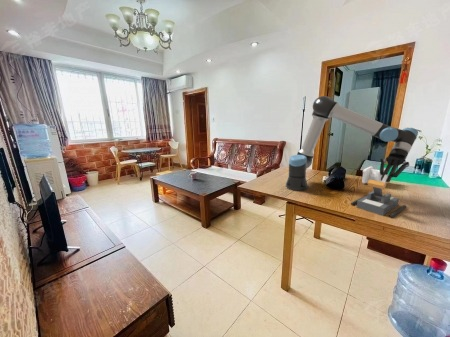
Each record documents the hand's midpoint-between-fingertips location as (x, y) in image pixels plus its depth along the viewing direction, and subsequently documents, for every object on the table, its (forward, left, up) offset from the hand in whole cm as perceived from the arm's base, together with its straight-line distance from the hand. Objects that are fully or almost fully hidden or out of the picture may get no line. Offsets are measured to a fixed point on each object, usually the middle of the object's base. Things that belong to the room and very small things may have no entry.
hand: (382, 185), depth 103 cm
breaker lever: (-1, -1, -7) cm, 7 cm away
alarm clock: (-21, +47, -12) cm, 53 cm away
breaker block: (-1, -1, -12) cm, 12 cm away
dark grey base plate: (-1, -1, -12) cm, 12 cm away
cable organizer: (+4, +43, -12) cm, 44 cm away
